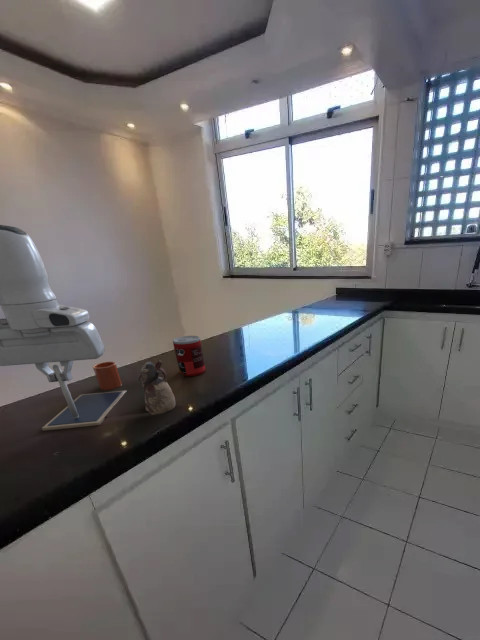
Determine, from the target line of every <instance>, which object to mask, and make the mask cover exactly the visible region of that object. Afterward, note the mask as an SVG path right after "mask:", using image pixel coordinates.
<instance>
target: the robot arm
mask: <svg viewBox="0 0 480 640" xmlns="http://www.w3.org/2000/svg"><path fill="white" fill-rule="evenodd" d="M0 308H1V311H2V312H3V315H4V317H3V318H0V367H7V366H22V365H33V364H34V365H35V368H36V369H37V370H38V371H39V372H41V373H42V374H43V375H44V376H46V378H47V380H48V382H49V383H57V382H58V380H57V377H56V375H55V372H54V370H53V369H52V368H50V367H49V365H50V363H59V364H60V366H61V367H63V371H61V372H62V373H60V374H59V375H60V377H61V380H62V381H65V382H70V381H72V380H73V379H74V378H73V377H74V376H73V374H72V368H73V365H74V361H86V360H97V359H99V358H100V357H102V356H103V355H104V353H105V350H106V349H105V345H104V342H103V340H102V337H101V335H100V333H99V331H98V329H97V327H96V326H95V325H94V324H93V323H92V322H90V321H89V320H90V318H91V316H90V313H89V311H88V310H87V309H84V308H80V307H75V306H70V305H66V304H62V303H59V301H58V298H57V296H56V295H55V293H54V292H53V290H52V288H51V286H50V283H49V273H48V271H47V269H46V266H45V263H44V261H43V258H42V256H41V254H40V252H39V249H38V248H37V246H36V243H35V242H34V241H33V239H32V237H31V236H30V235H29V234H28V233H27V232H26V231H25V230H23V229H22V228H18V227H16V226H12V225H11V226H10V225H4V224H0ZM58 383H59V382H58Z"/></svg>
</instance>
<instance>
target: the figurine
mask: <svg viewBox="0 0 480 640" xmlns="http://www.w3.org/2000/svg"><path fill="white" fill-rule="evenodd" d="M162 365H163V361H162V360H160V359H159V360H158V361H156V363H155V364H154V363H153V362H151V361H147V362H145V363H144V365H143V366H141V369H140V375H139V377H138V381H140V384H141V386H142V387H143V397H144V409H145V411H147V414H149V415H152V416H154V415H162V414H165V413H169V412H170V411H172V410H173V409H174V408H176V405H177V404H176V403H177V402H176V397H175V395H174V393H173V390H172V388H171V386H170V385H169V383H168V382H167V378H168V376H167V373H166V371H165V369H164V368H162ZM160 374H162V375H163V377H161V376H159V375H160Z"/></svg>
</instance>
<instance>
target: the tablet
mask: <svg viewBox="0 0 480 640" xmlns="http://www.w3.org/2000/svg"><path fill="white" fill-rule="evenodd" d="M126 393H127V390H116V391H107V392H95V393H94V392H93V393H82V394H79V395H78V396H77V397H76V398H75V399H73V402H74V404H75V407H76V409H77V412H78V414H79V417H78V418H77V419H75V418H73V416H72V414H71V411H70V409H69V407H68V405H66V407H64V408H63V409H62V410H61V411H60V412H58V414H56V415H55V416H54V417H53V418H52V419H51V420H49V421H48V422H47V423H46V424H44V426H42V428H41V430H42V431H55V430H63V429H65V430H66V429H73V428H84V427H94V426H100V425H102V424H103V422H104V421H105V420H106V419H107V417H108V416H107V415H108V414H109V412H110V411H112V409H113V408H114V407H115V405H116V404H117V403H118V402H119V401H120V400H121V399H122V397H124V395H125V394H126Z"/></svg>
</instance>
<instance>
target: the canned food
mask: <svg viewBox="0 0 480 640" xmlns="http://www.w3.org/2000/svg"><path fill="white" fill-rule="evenodd" d="M172 344H173V349H174V353H175V358H176V362H177V363H176V364H177V367H178V371H179V373H180V375H182V376H183V377H188V378H190V377H197V376H200V375H203V374H204V373H206V364H205V359H204V358H205V357H204V353H203V347H202V342H201V337H200V336H197V335H184V336H183V335H182V336H179V337H175V338H173V339H172Z"/></svg>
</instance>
